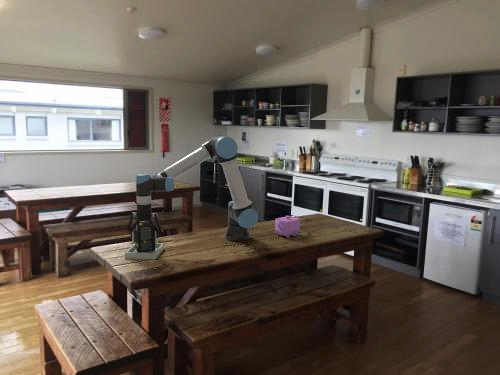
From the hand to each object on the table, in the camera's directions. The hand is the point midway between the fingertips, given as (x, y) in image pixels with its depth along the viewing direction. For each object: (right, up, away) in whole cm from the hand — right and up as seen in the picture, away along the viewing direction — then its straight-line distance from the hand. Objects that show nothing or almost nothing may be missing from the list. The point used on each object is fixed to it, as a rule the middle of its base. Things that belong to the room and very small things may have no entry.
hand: (145, 243), depth 228 cm
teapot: (+81, 0, +42) cm, 91 cm away
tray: (0, -5, +1) cm, 6 cm away
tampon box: (0, -3, +1) cm, 3 cm away
